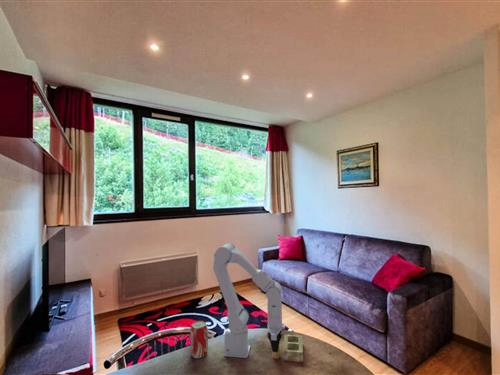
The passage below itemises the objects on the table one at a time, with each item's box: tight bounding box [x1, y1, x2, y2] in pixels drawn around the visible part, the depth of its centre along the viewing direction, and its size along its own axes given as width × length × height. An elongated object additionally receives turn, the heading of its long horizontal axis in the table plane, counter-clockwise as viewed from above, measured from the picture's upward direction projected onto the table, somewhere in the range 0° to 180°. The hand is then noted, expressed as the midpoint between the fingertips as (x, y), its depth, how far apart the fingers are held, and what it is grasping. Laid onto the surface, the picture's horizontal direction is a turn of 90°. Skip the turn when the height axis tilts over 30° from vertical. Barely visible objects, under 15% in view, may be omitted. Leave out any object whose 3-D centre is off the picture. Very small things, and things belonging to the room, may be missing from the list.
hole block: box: [283, 334, 304, 363], centre depth 102 cm, size 8×12×4 cm, turn 171°
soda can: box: [189, 320, 209, 359], centre depth 102 cm, size 7×7×12 cm
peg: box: [271, 348, 280, 360], centre depth 100 cm, size 3×3×8 cm
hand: (275, 348), depth 99 cm, fingers closed on peg, 3 cm apart
